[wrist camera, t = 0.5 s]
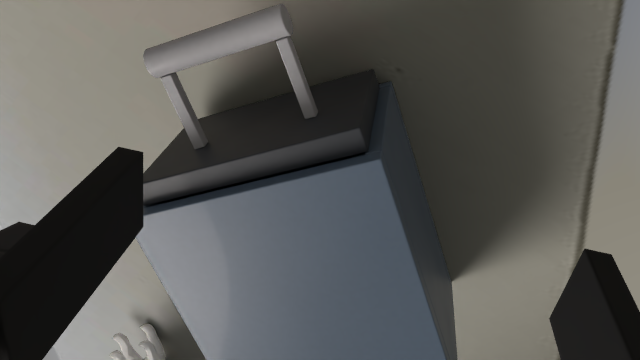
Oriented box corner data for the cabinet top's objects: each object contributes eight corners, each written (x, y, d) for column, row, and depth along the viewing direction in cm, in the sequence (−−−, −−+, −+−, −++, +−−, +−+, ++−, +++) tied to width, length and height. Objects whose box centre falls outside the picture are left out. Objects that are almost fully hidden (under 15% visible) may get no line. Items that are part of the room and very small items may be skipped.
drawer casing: (194, 135, 35) (124, 219, 26) (391, 80, 31) (381, 158, 23) (278, 311, 41) (243, 424, 33) (451, 283, 37) (460, 402, 29)
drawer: (149, 35, 31) (74, 83, 24) (343, -32, 28) (318, 1, 21) (272, 294, 39) (241, 383, 32) (434, 265, 36) (438, 359, 29)
